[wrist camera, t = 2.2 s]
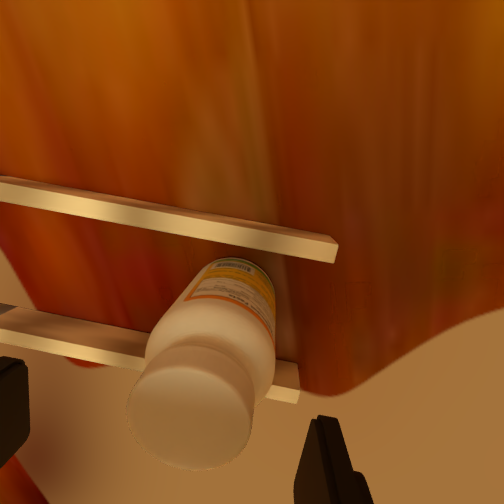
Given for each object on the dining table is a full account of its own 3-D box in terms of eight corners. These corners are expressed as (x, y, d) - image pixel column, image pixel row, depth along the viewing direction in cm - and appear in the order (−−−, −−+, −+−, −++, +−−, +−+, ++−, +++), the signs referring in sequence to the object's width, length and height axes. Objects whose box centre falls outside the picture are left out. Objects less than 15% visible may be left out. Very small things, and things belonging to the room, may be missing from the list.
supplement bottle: (224, 345, 19) (173, 510, 9) (177, 283, 18) (68, 397, 9) (292, 307, 18) (309, 451, 8) (244, 239, 17) (203, 314, 7)
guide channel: (329, 235, 16) (351, 258, 11) (294, 375, 19) (300, 442, 14) (-170, 143, 18) (-338, 129, 13) (-137, 287, 20) (-267, 321, 15)
